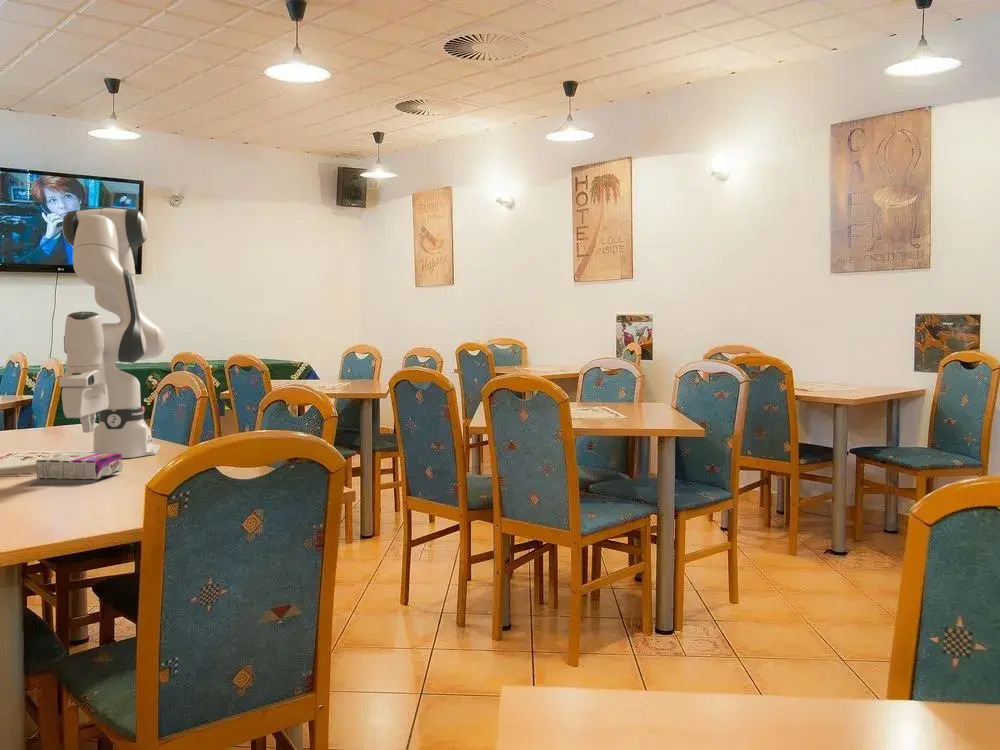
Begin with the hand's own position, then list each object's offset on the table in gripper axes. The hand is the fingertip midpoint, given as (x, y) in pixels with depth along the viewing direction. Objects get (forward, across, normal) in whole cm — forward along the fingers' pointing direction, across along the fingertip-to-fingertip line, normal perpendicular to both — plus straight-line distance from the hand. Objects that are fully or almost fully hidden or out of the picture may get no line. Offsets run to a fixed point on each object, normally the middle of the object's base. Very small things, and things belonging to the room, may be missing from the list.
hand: (88, 431), depth 206 cm
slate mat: (+12, 0, -5) cm, 13 cm away
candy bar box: (+9, 0, +5) cm, 10 cm away
